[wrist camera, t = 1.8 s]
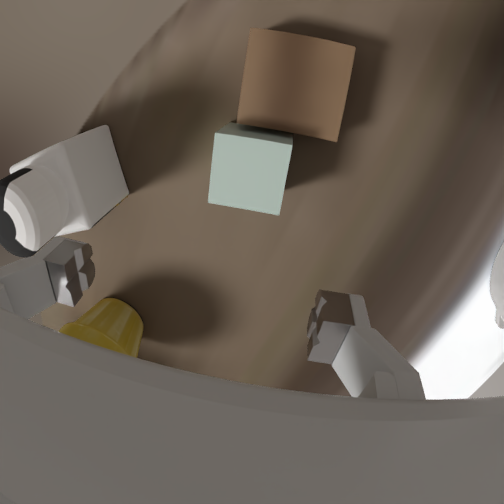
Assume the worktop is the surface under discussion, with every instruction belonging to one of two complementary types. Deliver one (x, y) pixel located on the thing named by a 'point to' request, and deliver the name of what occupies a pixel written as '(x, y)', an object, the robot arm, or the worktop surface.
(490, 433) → the robot arm
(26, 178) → the medicine bottle
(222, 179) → the cube
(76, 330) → the plant pot
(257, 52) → the block
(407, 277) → the worktop surface
